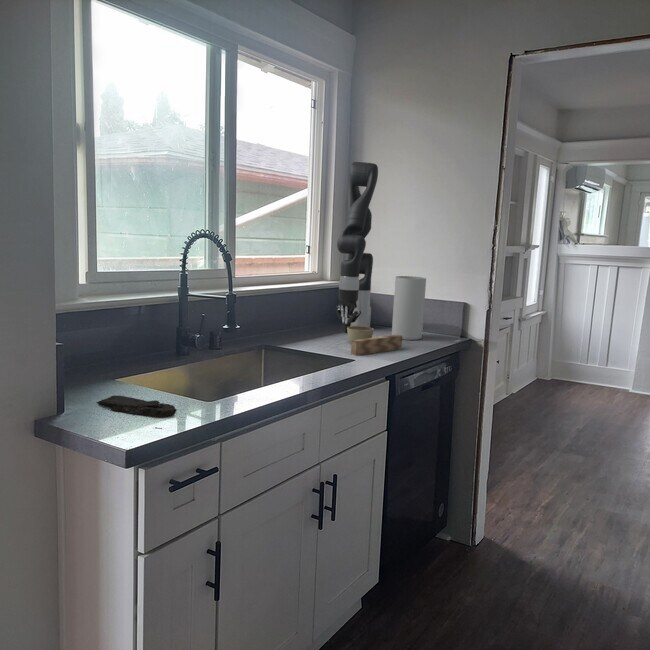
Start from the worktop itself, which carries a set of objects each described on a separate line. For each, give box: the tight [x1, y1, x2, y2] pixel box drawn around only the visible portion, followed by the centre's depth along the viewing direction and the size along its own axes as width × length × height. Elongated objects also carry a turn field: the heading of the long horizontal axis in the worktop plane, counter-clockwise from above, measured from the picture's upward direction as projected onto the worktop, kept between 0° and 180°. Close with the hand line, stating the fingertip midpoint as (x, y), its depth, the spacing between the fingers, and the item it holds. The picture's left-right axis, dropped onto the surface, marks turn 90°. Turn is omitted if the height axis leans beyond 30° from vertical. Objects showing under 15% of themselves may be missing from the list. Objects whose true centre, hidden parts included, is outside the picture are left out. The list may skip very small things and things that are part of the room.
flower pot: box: [347, 326, 375, 344], centre depth 234 cm, size 10×10×7 cm
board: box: [350, 334, 403, 356], centre depth 227 cm, size 24×2×5 cm, turn 131°
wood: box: [95, 395, 177, 419], centre depth 146 cm, size 22×8×3 cm, turn 65°
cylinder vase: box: [391, 275, 427, 341], centre depth 257 cm, size 12×12×25 cm
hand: (346, 332), depth 239 cm, fingers closed
